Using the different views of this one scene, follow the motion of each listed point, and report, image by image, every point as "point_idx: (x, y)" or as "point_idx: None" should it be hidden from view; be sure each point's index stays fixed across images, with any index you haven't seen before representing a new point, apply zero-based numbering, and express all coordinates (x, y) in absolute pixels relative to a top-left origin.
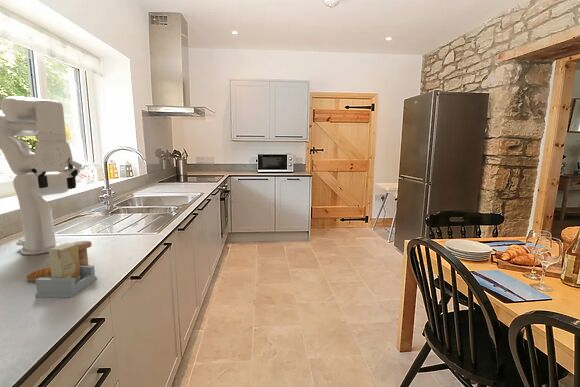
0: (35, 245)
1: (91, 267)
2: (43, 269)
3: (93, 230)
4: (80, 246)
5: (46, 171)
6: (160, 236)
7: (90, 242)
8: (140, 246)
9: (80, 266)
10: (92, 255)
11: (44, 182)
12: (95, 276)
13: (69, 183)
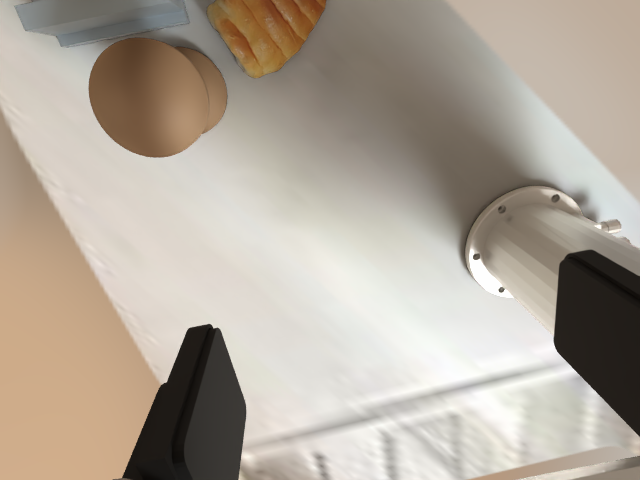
0: (526, 217)
1: (19, 11)
2: (272, 1)
3: (484, 426)
4: (105, 70)
5: (626, 463)
6: None
7: (117, 138)
8: None
9: (71, 4)
10: (290, 238)
11: (604, 349)
12: (60, 41)
13: (172, 384)
